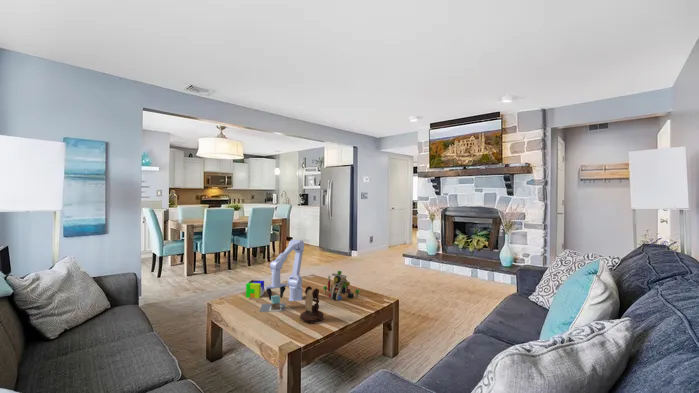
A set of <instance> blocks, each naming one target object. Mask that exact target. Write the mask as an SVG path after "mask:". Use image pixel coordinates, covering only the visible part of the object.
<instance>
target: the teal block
mask: <svg viewBox="0 0 699 393" xmlns="http://www.w3.org/2000/svg"><path fill="white" fill-rule="evenodd" d="M270 303H271V304H272V303H273V304H276V303H281V298H280V295H278V294H275V295H271V300H270Z"/></svg>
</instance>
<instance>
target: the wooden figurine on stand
mask: <svg viewBox="0 0 699 393" xmlns="http://www.w3.org/2000/svg"><path fill="white" fill-rule="evenodd" d="M319 290H320V289H319V288H314V289H312V287H311V286H309V285H308V286H307V287H306V288H305V290H304V294H305V297H304V299H305V301H304V302H305V304H304V309H305V310H304V311H303V312H301V313H300V316H299V318H300V320H301V321H303V322H307V323H310V324H311V325H313V323H314V322H318V321H319V322H320V321H321V320H323V319H324V312H322V311H319V309H320V304H319V303H320V299H319V296H320V295H319V294H320V291H319ZM313 302H314V304H313Z"/></svg>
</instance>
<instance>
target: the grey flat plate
mask: <svg viewBox="0 0 699 393" xmlns="http://www.w3.org/2000/svg"><path fill="white" fill-rule="evenodd" d="M271 305H272V303H262V304H261V307H260V309H259V313H265V312H266V313H267V312H271V313H273V312H284V311H285V308H286V303H285V302H280V308H279V310H271Z"/></svg>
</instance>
